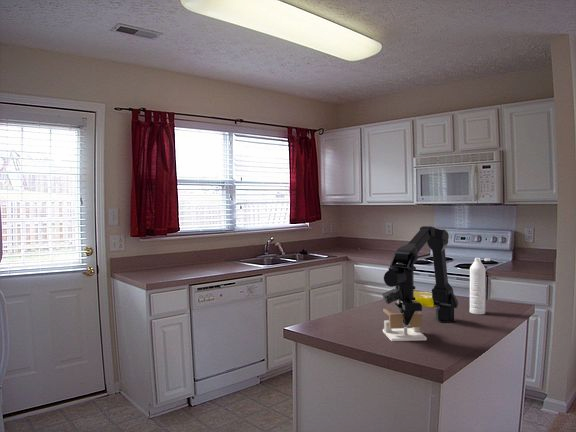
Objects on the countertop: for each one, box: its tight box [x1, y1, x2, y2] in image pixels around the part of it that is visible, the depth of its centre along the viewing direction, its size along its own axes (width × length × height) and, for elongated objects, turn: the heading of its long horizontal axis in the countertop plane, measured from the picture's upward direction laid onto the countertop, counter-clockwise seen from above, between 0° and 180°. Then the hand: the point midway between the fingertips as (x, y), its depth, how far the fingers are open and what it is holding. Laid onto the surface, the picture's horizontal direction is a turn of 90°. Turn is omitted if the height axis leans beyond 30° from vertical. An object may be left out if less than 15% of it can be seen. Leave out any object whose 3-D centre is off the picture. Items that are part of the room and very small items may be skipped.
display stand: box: [382, 319, 428, 342], centre depth 165 cm, size 12×13×5 cm
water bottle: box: [469, 257, 491, 315], centre depth 195 cm, size 9×6×25 cm
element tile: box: [412, 290, 437, 308], centre depth 217 cm, size 15×15×5 cm
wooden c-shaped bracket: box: [382, 308, 423, 329], centre depth 166 cm, size 10×12×5 cm
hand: (405, 324), depth 163 cm, fingers closed on wooden c-shaped bracket
